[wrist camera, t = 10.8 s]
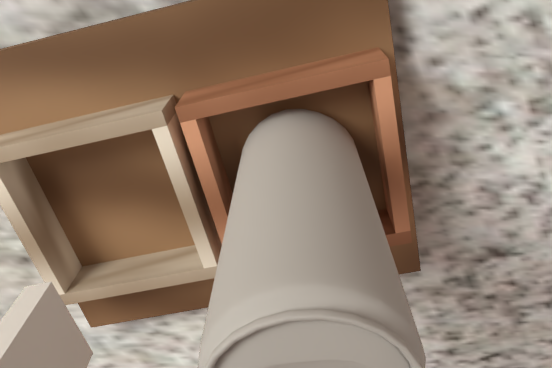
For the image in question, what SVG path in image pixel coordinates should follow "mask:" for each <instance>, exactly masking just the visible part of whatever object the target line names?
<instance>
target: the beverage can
mask: <svg viewBox="0 0 552 368" xmlns="http://www.w3.org/2000/svg"><path fill="white" fill-rule="evenodd" d="M425 361H426V357H425V353H424V349H423V346H422V343H421V340H420V337H419V334H418V331H417V328H416V325H415V322H414V319H413V316H412V313H411V310H410V307H409V304H408V301H407V298H406V295H405V292H404V289H403V286H402V283H401V280H400V277H399V274H398V271H397V268H396V265H395V262H394V259H393V256H392V253H391V250H390V247H389V244H388V241H387V238H386V235H385V232H384V229H383V226H382V223H381V220H380V217H379V214H378V211H377V208H376V205H375V202H374V199H373V196H372V193H371V190H370V187H369V184H368V181H367V178H366V175H365V172H364V169H363V167H362V164H361V161H360V158H359V155H358V152H357V149H356V146H355V143H354V140H353V138H352V137H351V135H350V134H349V133H348V131H347V130H346V128H345V127H343V126H342V125H341V124H339V123H338V122H337V121H336V120H334V119H333V118H330V117H328V116H326V115H324V114H321V113H319V112H315V111H310V110H306V109H286V110H283V111H280V112H277V113H274V114H271V115H270V116H269V117H267V118H266V119H264V120H263V121H261V122H260V123H258V125H257V126H256V127H255V128H254V129H253V130H252V132H251V133H250V134H249V136H248V138H247V140H246V142H245V144H244V147H243V150H242V155H241V159H240V164H239V168H238V173H237V178H236V182H235V187H234V191H233V196H232V201H231V205H230V210H229V214H228V219H227V224H226V228H225V233H224V237H223V242H222V247H221V251H220V256H219V261H218V265H217V270H216V274H215V279H214V284H213V288H212V293H211V297H210V302H209V307H208V311H207V316H206V320H205V325H204V330H203V334H202V339H201V345H200V352H199V360H198V368H425Z"/></svg>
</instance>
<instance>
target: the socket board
mask: <svg viewBox="0 0 552 368" xmlns="http://www.w3.org/2000/svg"><path fill="white" fill-rule="evenodd" d="M286 109H306V110H310V111H315V112H319V113H321V114H324V115H326V116H328V117H330V118H333V119H334V120H336V121H337V122H338V123H339V124H341V125H342V126H343V127H345V128H346V130H347V131H348V133H349V134H350V135H351V137H352V138H353V140H354V143H355V146H356V149H357V152H358V155H359V158H360V161H361V164H362V167H363V169H364V172H365V175H366V178H367V181H368V184H369V187H370V190H371V193H372V196H373V199H374V202H375V205H376V208H377V211H378V214H379V217H380V220H381V223H382V226H383V229H384V232H385V235H386V238H387V241H388V244H389V247H390V250H391V253H392V256H393V259H394V262H395V265H396V268H397V271H398V274H404V273H410V272H415V271H421V269H420V261H419V253H418V245H417V236H416V228H415V220H414V212H413V204H412V195H411V187H410V179H409V171H408V163H407V154H406V146H405V138H404V130H403V122H402V113H401V105H400V97H399V89H398V80H397V72H396V64H395V56H394V48H393V39H392V31H391V23H390V15H389V7H388V0H190V1H186V2H183V3H179V4H175V5H171V6H167V7H163V8H159V9H155V10H151V11H147V12H143V13H140V14H136V15H132V16H128V17H124V18H120V19H116V20H112V21H108V22H104V23H100V24H97V25H93V26H89V27H85V28H81V29H77V30H73V31H69V32H65V33H61V34H57V35H54V36H50V37H46V38H42V39H38V40H34V41H30V42H26V43H22V44H18V45H14V46H11V47H7V48H3V49H0V205H1V207H2V209H3V211H4V212H5V214H6V216H7V218H8V219H9V221H10V223H11V225H12V226H13V228H14V230H15V232H16V233H17V235H18V237H19V239H20V240H21V242H22V244H23V246H24V247H25V249H26V251H27V253H28V254H29V256H30V258H31V260H32V261H33V263H34V265H35V267H36V268H37V270H38V272H39V274H40V275H41V277H42V279H43V281H44V282H45V283H46V282H52V283H53V285H54V287H55V288H56V290H57V292H58V294H59V295H60V297H61V299H62V300H63V302H64V304H65V305H68V304H74V303H78V304H79V306H80V308H81V310H82V312H83V313H84V315H85V317H86V319H87V321H88V323H89V324H90V326H91V327H97V326H102V325H108V324H114V323H120V322H126V321H131V320H137V319H143V318H149V317H155V316H160V315H166V314H172V313H178V312H184V311H189V310H195V309H201V308H207V307H209V302H210V297H211V293H212V288H213V284H214V279H215V274H216V270H217V265H218V261H219V256H220V251H221V247H222V242H223V237H224V233H225V228H226V224H227V219H228V214H229V210H230V205H231V201H232V196H233V191H234V187H235V182H236V178H237V173H238V168H239V164H240V159H241V155H242V150H243V147H244V144H245V142H246V140H247V138H248V136H249V134H250V133H251V132H252V130H253V129H254V128H255V127H256V126H257V125H258V123H260V122H261V121H263V120H264V119H266V118H267V117H269V116H270V115H271V114H274V113H277V112H280V111H283V110H286Z"/></svg>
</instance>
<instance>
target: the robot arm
mask: <svg viewBox="0 0 552 368" xmlns="http://www.w3.org/2000/svg"><path fill="white" fill-rule="evenodd" d="M92 354H93V352H92V350H91V349H90V347H89V345H88V343H87V342H86V340H85V338H84V337H83V335H82V333H81V331H80V330H79V328H78V326H77V325H76V323H75V321H74V319H73V318H72V316H71V314H70V313H69V311H68V309H67V307H66V306H65V304H64V302H63V300H62V299H61V297H60V295H59V294H58V292H57V290H56V288H55V287H54V285H53V283H52V282H46V283H41V284H36V285H30V286H25V288H24V289H23V291H22V292H21V293H20V295H19V296H18V298H17V299H16V300H15V302H14V303H13V304H12V306H11V307H10V309H9V310H8V311H7V313H6V314H5V316H4V317H3V318H2V320H1V321H0V368H87V365H88V363H89V361H90V359H91V356H92Z"/></svg>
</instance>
